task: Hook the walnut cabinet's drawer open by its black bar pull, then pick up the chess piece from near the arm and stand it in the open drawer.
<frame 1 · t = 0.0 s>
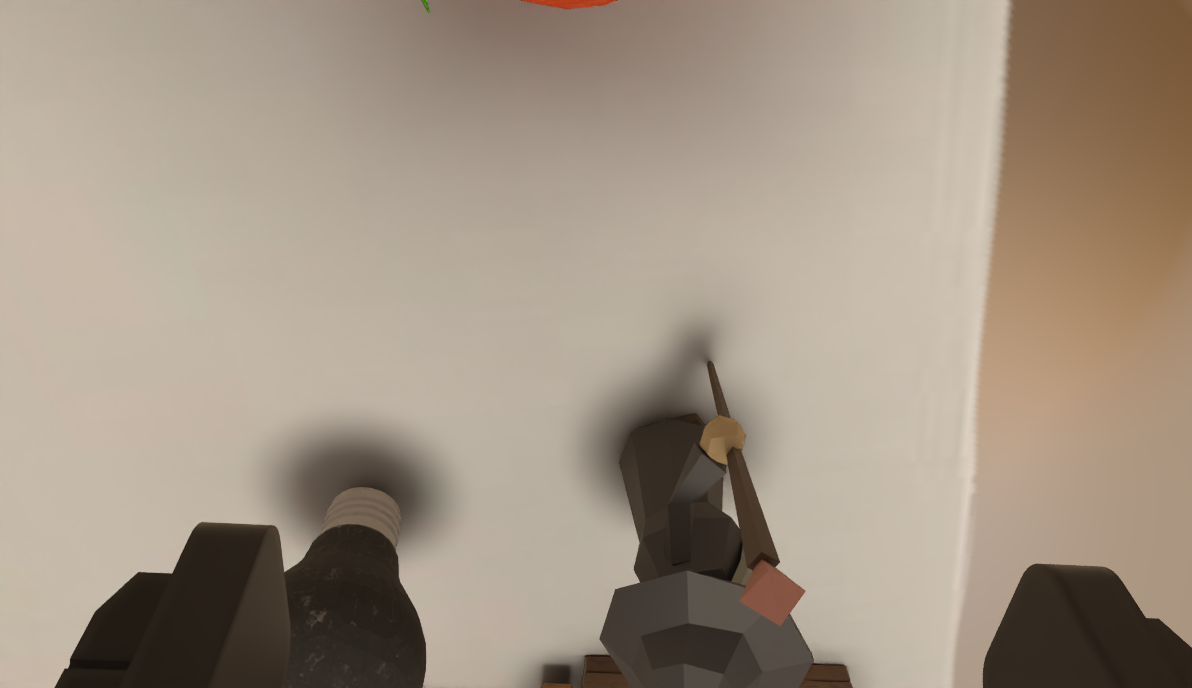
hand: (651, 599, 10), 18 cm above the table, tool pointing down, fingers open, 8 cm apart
light bulb: (370, 494, 34), on the table
wizard figurine: (667, 419, 32), on the table
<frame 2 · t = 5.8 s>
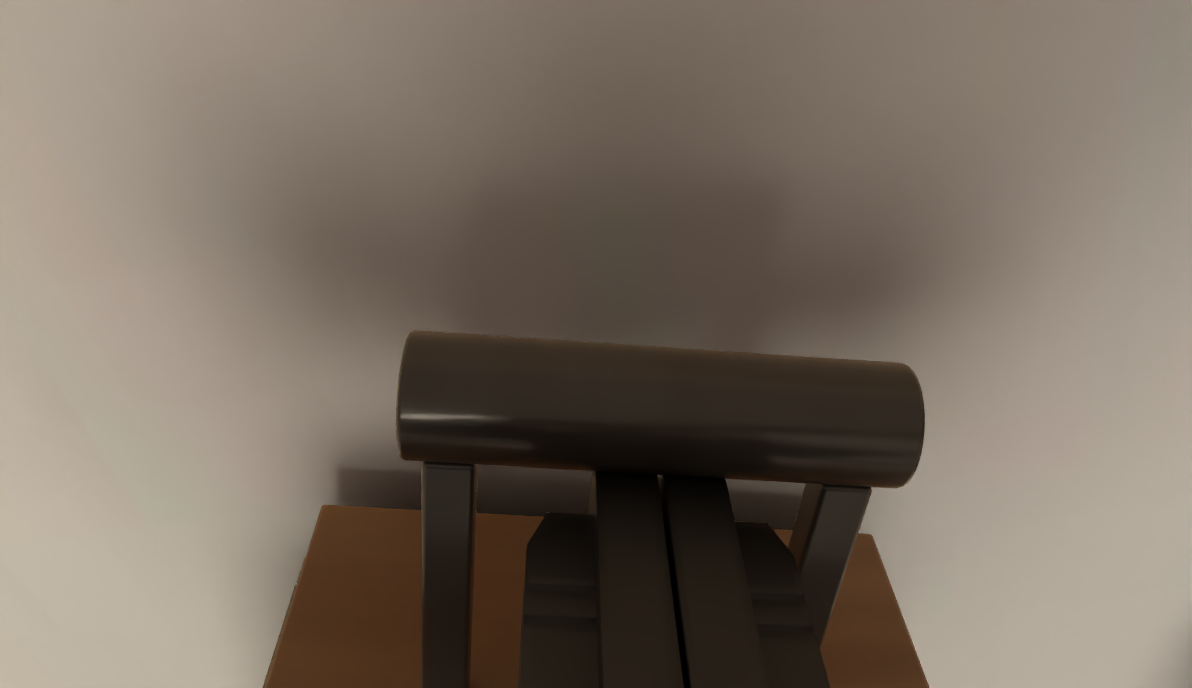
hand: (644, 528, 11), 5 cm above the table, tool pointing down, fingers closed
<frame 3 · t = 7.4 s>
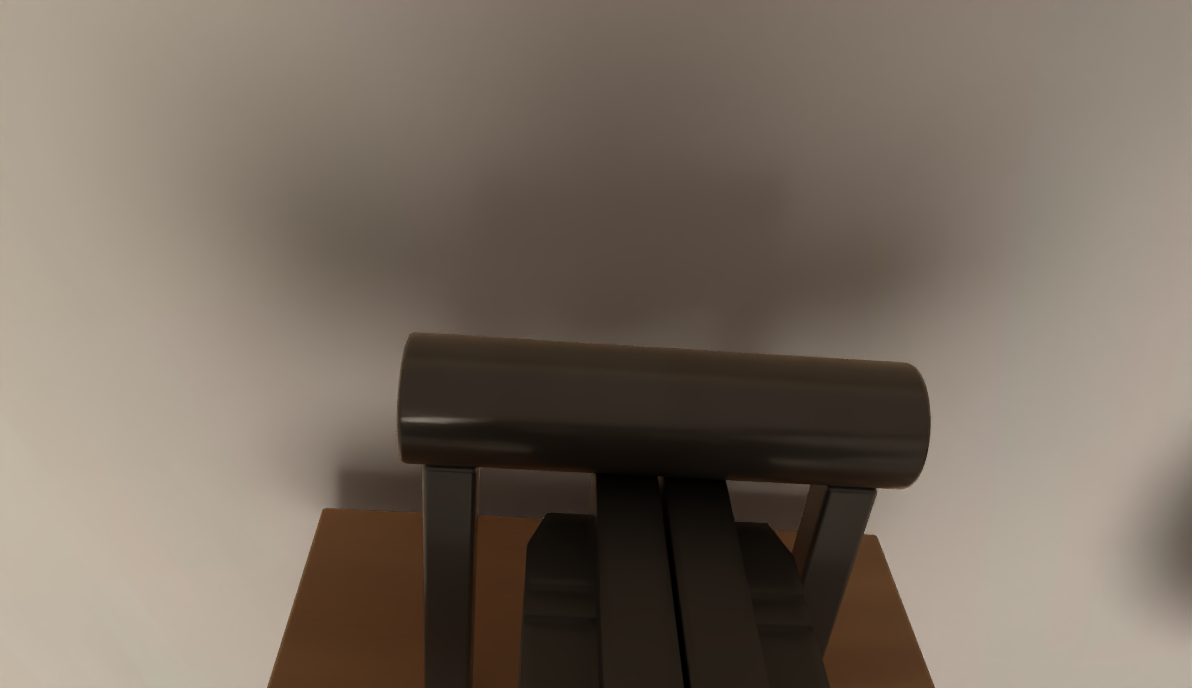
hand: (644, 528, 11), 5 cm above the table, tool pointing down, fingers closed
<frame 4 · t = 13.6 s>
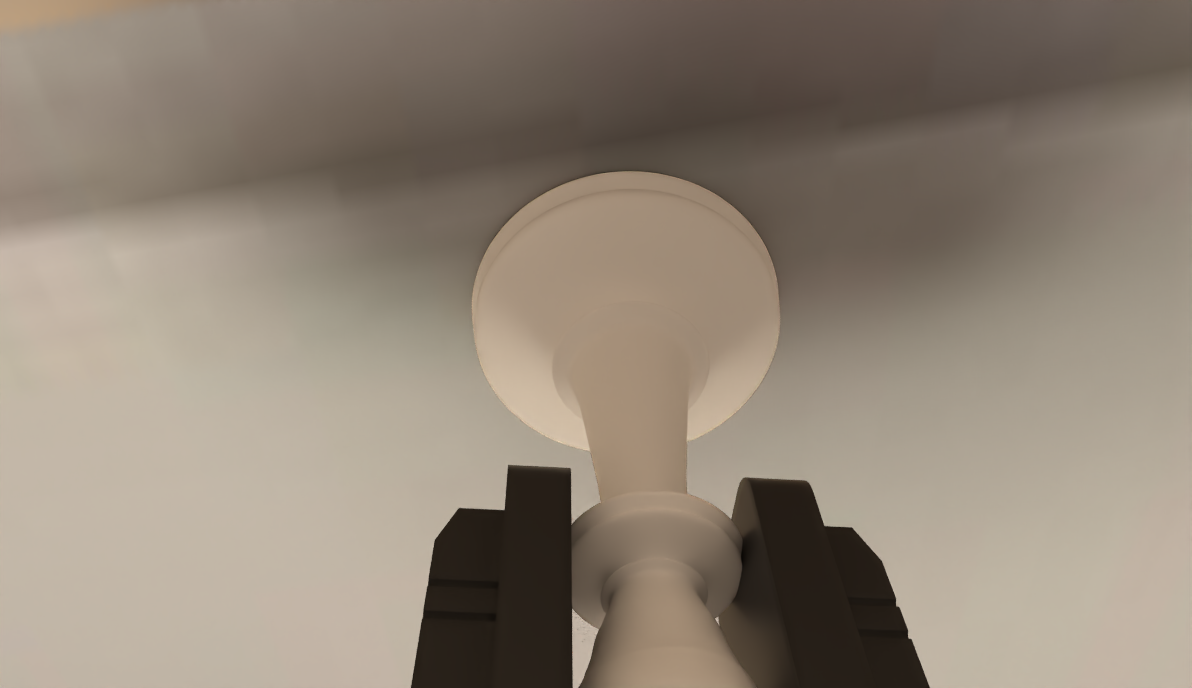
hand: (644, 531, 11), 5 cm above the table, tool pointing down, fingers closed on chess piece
chess piece: (624, 306, 16), on the table, touching gripper
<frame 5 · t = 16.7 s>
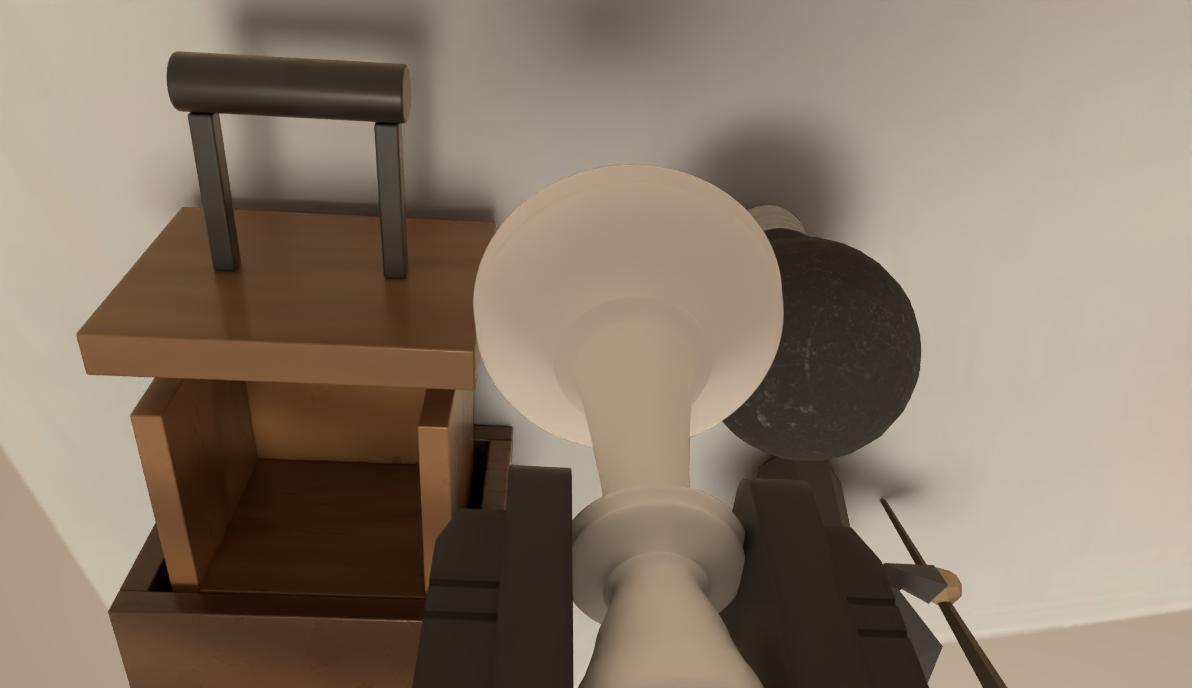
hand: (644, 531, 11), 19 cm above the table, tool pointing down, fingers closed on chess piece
light bulb: (759, 226, 31), on the table
wizard figurine: (823, 473, 36), on the table
cabinet: (373, 530, 37), on the table
chess piece: (627, 301, 16), point 14 cm above the table, touching gripper
drawer: (318, 330, 27), point 5 cm above the table, slide at 7.2 cm
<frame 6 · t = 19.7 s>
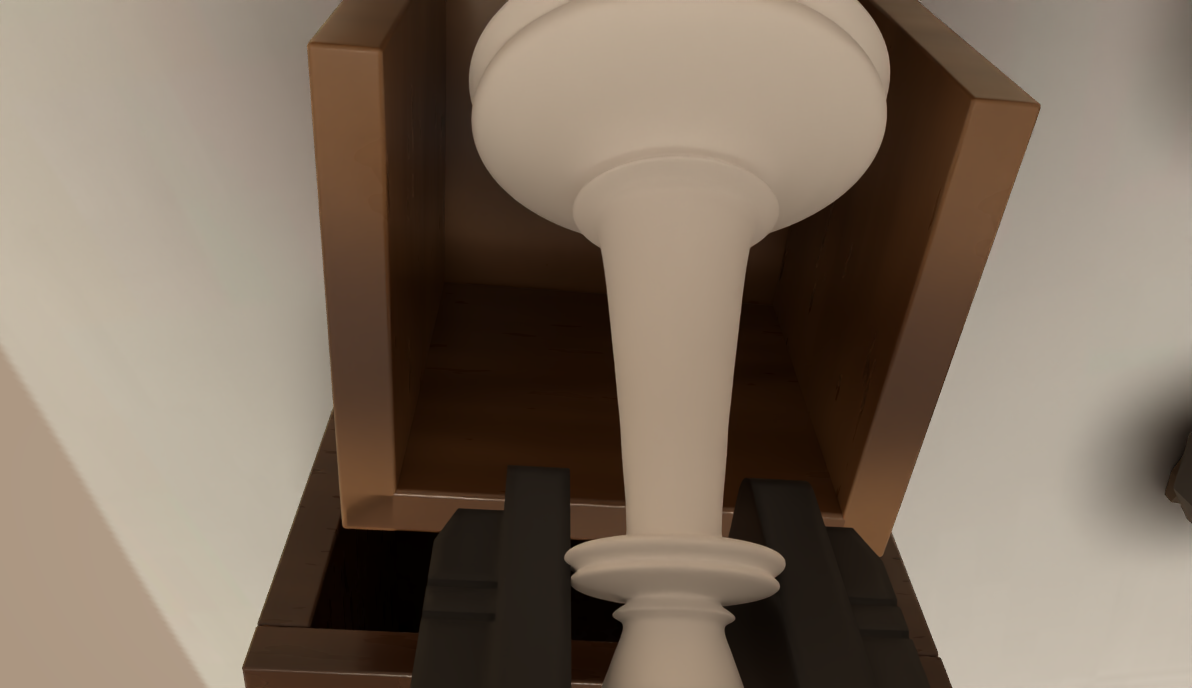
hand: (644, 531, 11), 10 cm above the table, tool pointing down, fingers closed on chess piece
cabinet: (578, 517, 25), on the table
chess piece: (675, 83, 12), point 7 cm above the table, touching drawer, gripper
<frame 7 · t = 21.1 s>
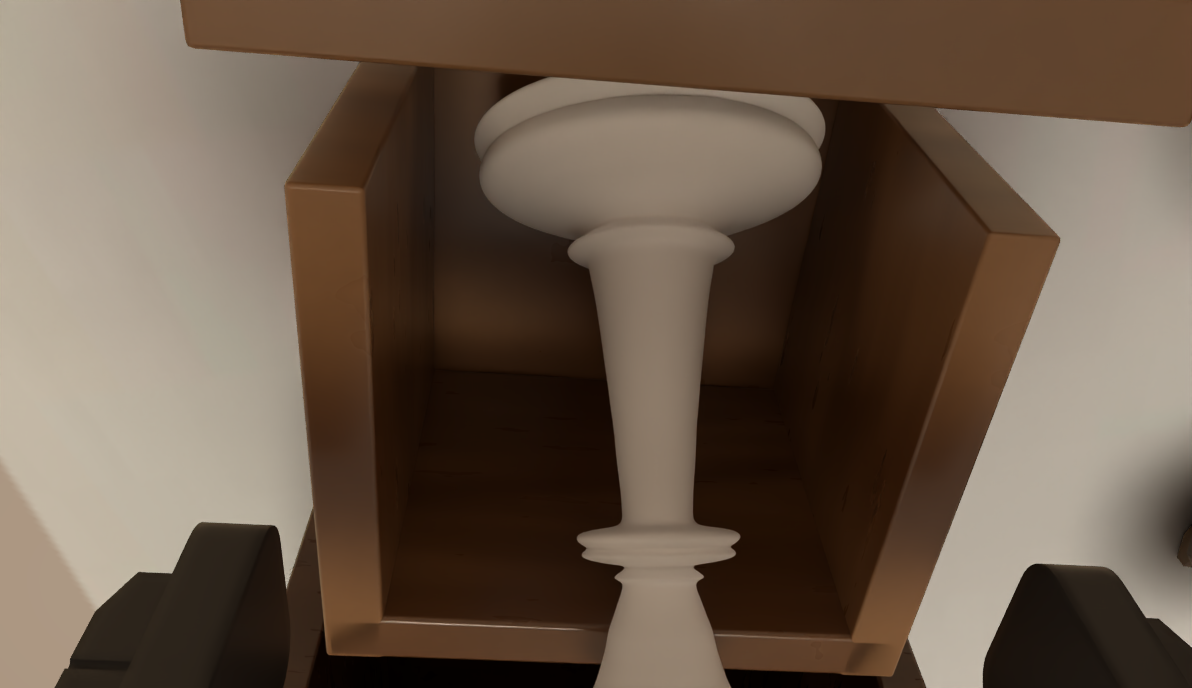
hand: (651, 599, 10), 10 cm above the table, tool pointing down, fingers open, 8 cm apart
cabinet: (574, 585, 24), on the table
chess piece: (647, 128, 14), point 4 cm above the table, touching drawer
drawer: (662, 54, 12), point 5 cm above the table, slide at 9.8 cm, touching chess piece
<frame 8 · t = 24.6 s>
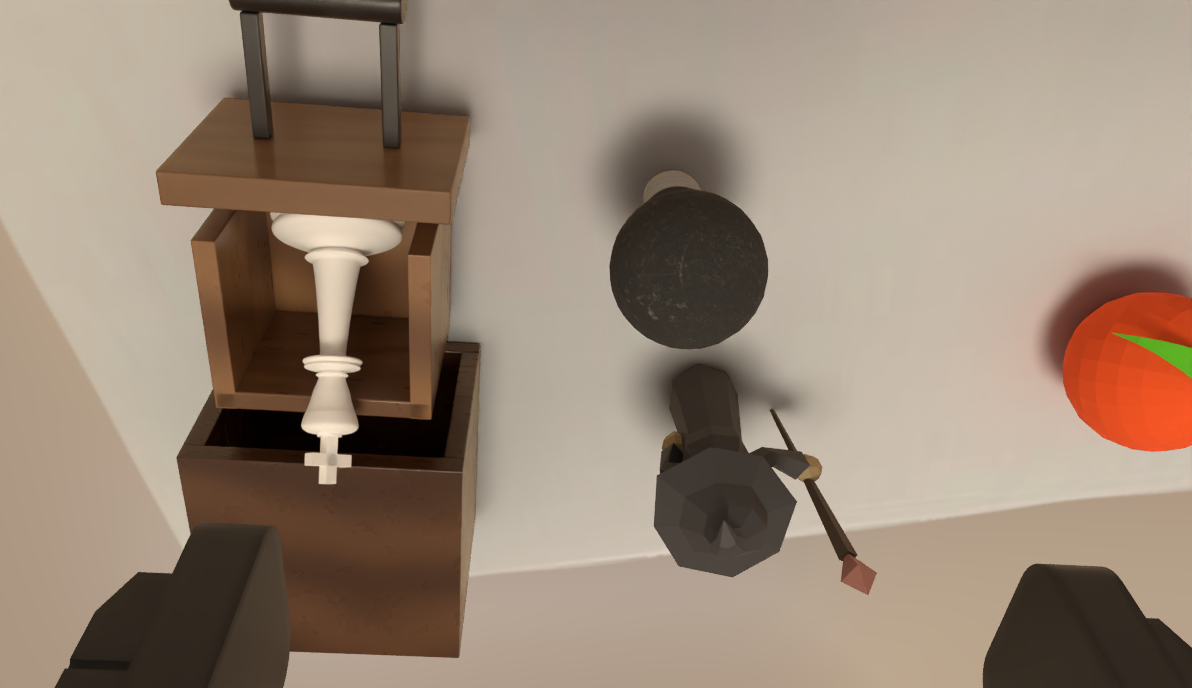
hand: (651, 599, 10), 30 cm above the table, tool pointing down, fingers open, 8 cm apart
light bulb: (669, 187, 41), on the table
wizard figurine: (725, 387, 46), on the table
cabinet: (368, 428, 47), on the table
chess piece: (338, 212, 37), point 4 cm above the table, touching drawer
drawer: (331, 190, 35), point 5 cm above the table, slide at 9.8 cm, touching chess piece
clementine: (1070, 353, 45), on the table
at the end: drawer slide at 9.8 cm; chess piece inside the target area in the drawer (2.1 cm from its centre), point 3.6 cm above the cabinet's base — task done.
